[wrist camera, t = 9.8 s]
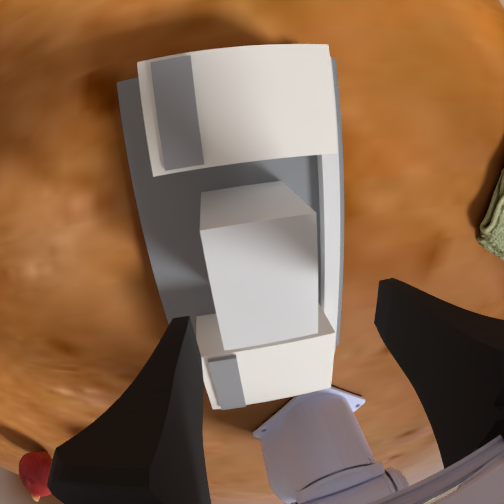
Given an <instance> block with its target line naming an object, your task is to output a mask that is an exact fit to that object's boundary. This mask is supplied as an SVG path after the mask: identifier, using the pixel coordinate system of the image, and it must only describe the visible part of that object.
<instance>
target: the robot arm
mask: <svg viewBox="0 0 504 504" xmlns="http://www.w3.org/2000/svg"><path fill="white" fill-rule="evenodd" d="M374 323H375V325H376V327H377V330H378V332H379V334H380V336H381V338H382V340H383V342H384V343H385V345H386V346H387V348H388V349H389V351H390V352H391V354H392V355H393V357H394V358H395V360H396V361H397V363H398V364H399V366H400V367H401V369H402V370H403V372H404V373H405V375H406V376H407V378H408V379H409V381H410V382H411V384H412V385H413V387H414V389H415V391H416V393H417V395H418V397H419V399H420V401H421V403H422V405H423V407H424V410H425V412H426V414H427V417H428V419H429V421H430V424H431V426H432V429H433V432H434V435H435V438H436V441H437V443H438V447H439V450H440V454H441V457H442V461H443V465H444V469H443V470H442V471H440V472H438V473H436V474H434V475H432V476H430V477H428V478H426V479H424V480H422V481H419V482H417V483H415V484H413V485H411V486H409V484H408V482H407V480H406V478H405V477H404V475H403V474H402V473H401V472H400V471H399V470H396V469H393V468H391V467H390V468H387V469H385V470H384V468H383V466H382V464H381V462H378V463H376V461H375V459H374V456H373V454H372V452H371V450H370V448H369V445H368V443H367V441H366V439H365V437H364V435H363V432H362V430H361V428H360V426H359V424H358V421H357V419H356V417H355V415H354V413H353V412H354V411H355V410H357V409H358V408H359V407H360V406H361V405H362V404H364V403H365V399H364V397H361V396H358V395H355V394H352V393H349V392H346V391H343V390H341V389H338V388H335V387H332V386H331V388H327V389H323V390H319V391H314V392H310V393H306V394H301V395H297V396H295V397H294V398H293V399H292V400H291V401H289V402H288V403H287V404H286V405H285V406H284V407H283V408H281V409H280V410H279V411H278V412H277V413H276V414H274V415H273V416H272V417H271V418H270V419H269V420H267V421H266V422H265V423H264V424H262V425H261V426H260V427H259V428H258V429H256V430H255V431H254V432H253V436H254V437H255V438H260V442H261V447H262V452H263V457H264V462H265V466H266V471H267V476H268V481H269V484H270V486H271V488H272V490H273V492H274V493H275V494H276V496H277V497H278V498H279V499H280V500H282V501H283V502H285V503H287V504H423V503H425V502H427V501H429V500H431V499H433V498H435V497H437V496H439V495H441V494H442V493H444V492H446V491H448V490H450V489H451V488H453V487H455V486H456V485H458V484H460V483H461V484H460V485H459V487H458V488H457V490H455V491H453V492H452V493H450V494H448V495H446V496H444V497H442V498H441V499H439V500H437V501H435V502H433V503H431V504H504V320H501V319H496V318H492V317H488V316H484V315H481V314H478V313H474V312H471V311H468V310H465V309H463V308H460V307H457V306H455V305H453V304H450V303H448V302H445V301H443V300H441V299H439V298H436V297H434V296H432V295H430V294H428V293H426V292H423V291H421V290H419V289H417V288H415V287H413V286H411V285H409V284H406V283H404V282H402V281H399V280H397V279H394V278H390V279H386V280H381V281H379V289H378V298H377V306H376V314H375V321H374ZM202 422H203V369H202V359H201V354H200V351H199V347H198V344H197V340H196V337H195V333H194V329H193V326H192V322H191V318H190V316H184V317H177V318H173V319H172V320H171V322H170V324H169V326H168V328H167V329H166V331H165V333H164V335H163V337H162V338H161V340H160V342H159V344H158V345H157V347H156V349H155V350H154V352H153V354H152V355H151V357H150V358H149V360H148V361H147V363H146V364H145V366H144V367H143V369H142V370H141V372H140V373H139V374H138V376H137V377H136V379H135V380H134V381H133V382H132V384H131V385H130V386H129V387H128V389H127V390H126V391H125V392H124V393H123V394H122V396H121V397H120V398H119V399H118V400H117V401H116V402H115V403H114V404H113V405H112V406H111V407H110V408H109V409H108V410H107V411H106V412H105V413H103V414H102V415H101V416H100V417H99V418H98V419H96V420H95V421H94V422H93V423H92V424H90V425H89V426H88V427H87V428H85V429H84V430H83V431H81V432H80V433H79V434H77V435H76V436H74V437H73V438H71V439H70V440H68V441H66V442H65V443H63V444H62V445H60V446H59V447H57V448H56V450H55V453H54V456H53V460H52V464H51V468H50V473H49V477H48V482H47V487H48V489H49V490H50V492H51V493H52V494H53V495H54V496H55V497H56V498H57V499H59V500H60V501H62V502H63V503H64V504H211V500H210V494H209V488H208V481H207V474H206V466H205V458H204V449H203V436H202ZM463 481H464V482H463Z"/></svg>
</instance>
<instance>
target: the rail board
mask: <svg viewBox="0 0 504 504" xmlns="http://www.w3.org/2000/svg"><path fill="white" fill-rule="evenodd" d="M137 68H138V77H136V78H132V79H128V80H124V81H120V82H117V91H118V99H119V106H120V114H121V121H122V127H123V134H124V140H125V146H126V152H127V157H128V163H129V168H130V174H131V179H132V184H133V189H134V194H135V199H136V203H137V208H138V212H139V217H140V221H141V226H142V230H143V234H144V238H145V242H146V246H147V250H148V254H149V258H150V262H151V266H152V270H153V273H154V277H155V281H156V284H157V288H158V291H159V295H160V298H161V302H162V305H163V308H164V312H165V315H166V318H167V322H168V325H169V324H170V322H171V320H172V319H173V318H177V317H184V316H190V318H191V322H192V326H193V329H194V333H195V337H196V340H197V344H198V347H199V351H200V354H201V359H202V369H203V381H204V384H205V387H206V390H207V393H208V396H209V399H210V403H211V406H212V409H213V410H215V409H221V410H227V409H234V408H241V407H246V405H249V404H255V403H261V402H267V401H272V400H277V399H282V398H287V397H292V396H297V395H301V394H306V393H310V392H314V391H319V390H323V389H327V388H331V381H332V370H333V359H334V353H335V345H339V334H340V320H341V305H342V286H343V259H344V174H343V147H342V128H341V113H340V100H339V88H338V78H337V68H336V59H331V56H330V55H329V46H328V45H323V44H272V45H252V46H238V47H227V48H218V49H209V50H202V51H194V52H188V53H182V54H176V55H170V56H165V57H159V58H154V59H150V60H145V61H140V62H137ZM275 181H282V182H284V183H285V184H286V185H287V186H288V187H289V188H290V189H291V190H292V191H293V192H295V193H296V194H297V195H298V196H299V197H300V198H301V199H302V200H303V201H304V202H305V203H306V204H308V205H309V206H310V207H311V208H312V209H313V210H314V211H315V212H316V216H317V246H318V333H316V334H311V335H307V336H302V337H297V338H292V339H287V340H282V341H277V342H272V343H267V344H261V345H256V346H250V347H244V348H238V349H232V350H226V351H224V346H223V342H222V337H221V333H220V328H219V324H218V319H217V315H216V310H215V305H214V301H213V296H212V291H211V286H210V281H209V276H208V271H207V266H206V261H205V256H204V251H203V246H202V240H201V235H200V207H201V192H206V191H212V190H219V189H225V188H232V187H238V186H245V185H252V184H260V183H267V182H275Z"/></svg>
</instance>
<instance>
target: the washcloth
mask: <svg viewBox="0 0 504 504" xmlns="http://www.w3.org/2000/svg"><path fill="white" fill-rule="evenodd" d="M480 230H481V232H480V234H479V236H478V238H477V240H478V241H479V242H480V245H482V246H483V247H484V248H485V249H486V250H487V251H488V253H489V252H493V254H494V255H496V256H498V257H499V258H500V259H502V260H504V168H503V169H502V171H501V176H500V178H499V181H498V183H497V186H496V188H495V191H494V194H493V197H492V200H491V203H490V206H489V208H488V211H487V213H486V216H485V218H484V219H483V221H482V222H481V224H480Z"/></svg>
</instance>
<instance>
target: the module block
mask: <svg viewBox="0 0 504 504" xmlns="http://www.w3.org/2000/svg"><path fill="white" fill-rule="evenodd" d="M200 235H201V240H202V246H203V251H204V256H205V261H206V266H207V271H208V276H209V281H210V286H211V291H212V296H213V301H214V305H215V310H216V315H217V319H218V324H219V328H220V333H221V337H222V342H223V346H224V351H226V350H232V349H238V348H244V347H250V346H256V345H261V344H267V343H272V342H277V341H282V340H287V339H292V338H297V337H302V336H307V335H311V334H316V333H318V246H317V216H316V212H315V211H314V210H313V209H312V208H311V207H310V206H309V205H308V204H306V203H305V202H304V201H303V200H302V199H301V198H300V197H299V196H298V195H297V194H296V193H295V192H293V191H292V190H291V189H290V188H289V187H288V186H287V185H286V184H285V183H284V182H282V181H275V182H267V183H260V184H252V185H245V186H238V187H232V188H225V189H219V190H212V191H206V192H201V207H200Z"/></svg>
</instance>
